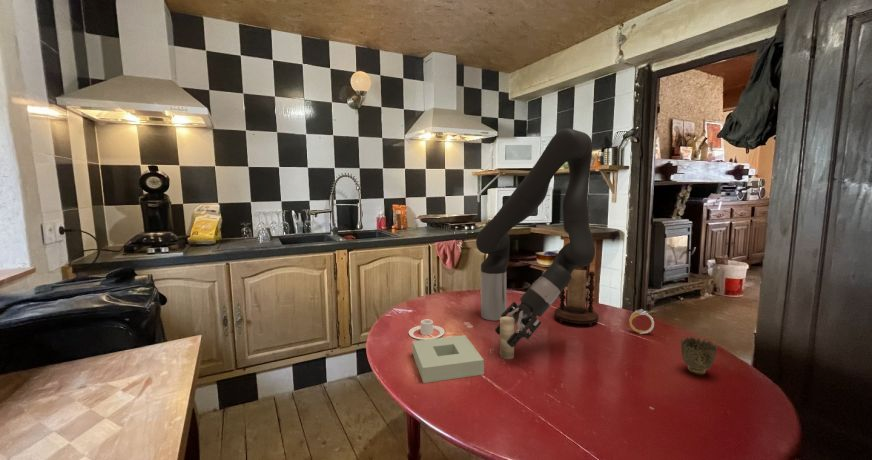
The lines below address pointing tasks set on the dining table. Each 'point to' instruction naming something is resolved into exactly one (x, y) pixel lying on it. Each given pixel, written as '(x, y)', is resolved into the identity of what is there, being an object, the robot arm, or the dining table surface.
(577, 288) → the scroll
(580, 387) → the dining table surface
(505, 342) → the birch peg
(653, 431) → the dining table surface
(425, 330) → the candle holder
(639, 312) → the ring
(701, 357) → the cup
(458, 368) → the square hole plate
